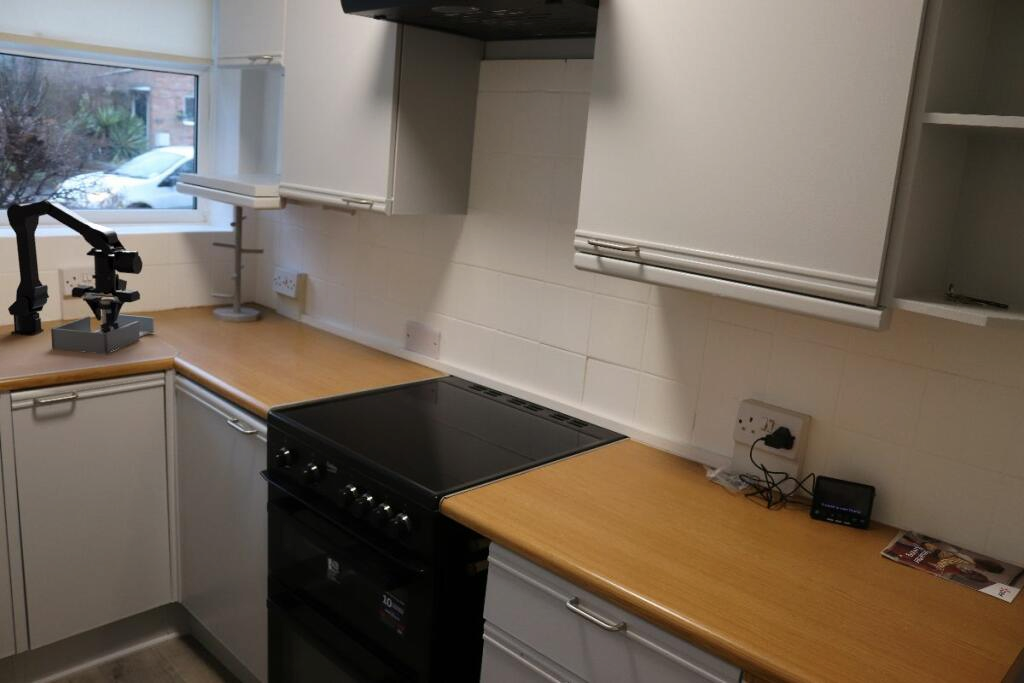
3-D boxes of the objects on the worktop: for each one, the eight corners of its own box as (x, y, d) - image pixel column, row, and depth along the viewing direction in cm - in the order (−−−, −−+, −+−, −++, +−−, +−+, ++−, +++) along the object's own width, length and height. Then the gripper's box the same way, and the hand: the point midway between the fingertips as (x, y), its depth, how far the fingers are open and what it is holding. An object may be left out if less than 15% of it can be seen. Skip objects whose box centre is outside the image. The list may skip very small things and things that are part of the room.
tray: (105, 327, 262) (104, 312, 261) (154, 332, 262) (153, 317, 260) (71, 340, 245) (70, 324, 244) (123, 345, 244) (123, 329, 243)
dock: (88, 334, 254) (87, 316, 252) (139, 339, 253) (139, 321, 251) (52, 348, 236) (51, 328, 235) (107, 354, 235) (106, 334, 234)
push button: (103, 335, 245) (101, 303, 243) (91, 332, 248) (89, 300, 245) (122, 331, 251) (120, 299, 249) (110, 329, 253) (108, 297, 251)
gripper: (148, 270, 252) (149, 318, 256) (90, 264, 253) (92, 313, 257) (129, 275, 241) (131, 326, 245) (69, 269, 242) (71, 320, 246)
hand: (106, 321), depth 249 cm, fingers closed on push button, 4 cm apart
